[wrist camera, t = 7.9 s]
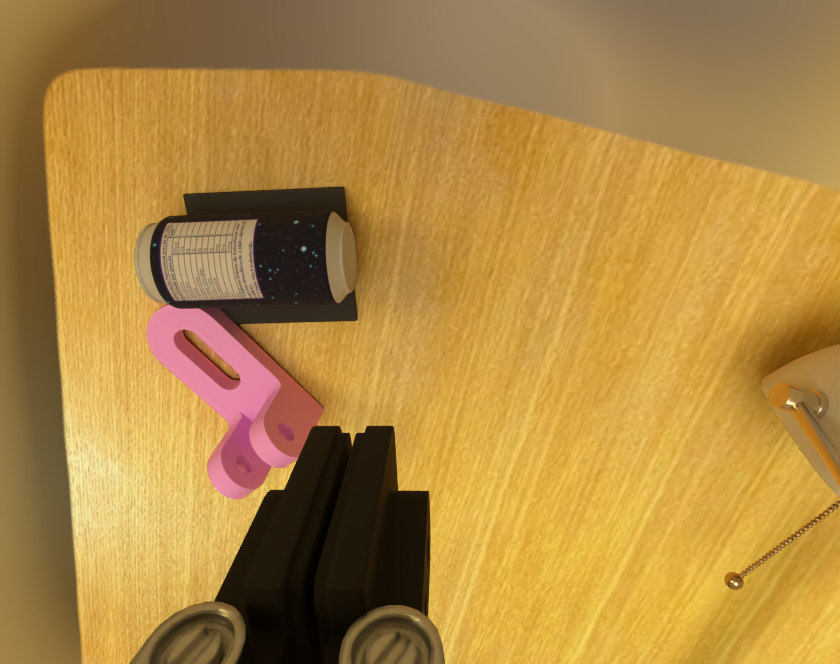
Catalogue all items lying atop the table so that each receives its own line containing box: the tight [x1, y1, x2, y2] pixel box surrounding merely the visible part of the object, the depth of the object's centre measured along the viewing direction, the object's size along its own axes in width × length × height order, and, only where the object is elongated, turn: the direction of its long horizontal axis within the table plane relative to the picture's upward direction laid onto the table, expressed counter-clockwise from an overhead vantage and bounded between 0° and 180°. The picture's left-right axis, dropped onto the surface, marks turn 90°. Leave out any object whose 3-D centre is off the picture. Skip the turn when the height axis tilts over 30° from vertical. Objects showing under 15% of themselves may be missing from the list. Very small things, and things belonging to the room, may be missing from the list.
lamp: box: [724, 344, 840, 590], centre depth 35 cm, size 27×23×40 cm
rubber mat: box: [183, 187, 357, 324], centre depth 34 cm, size 9×10×1 cm
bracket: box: [147, 304, 323, 499], centre depth 34 cm, size 13×6×7 cm, turn 40°
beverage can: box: [134, 210, 356, 309], centre depth 31 cm, size 6×6×12 cm
